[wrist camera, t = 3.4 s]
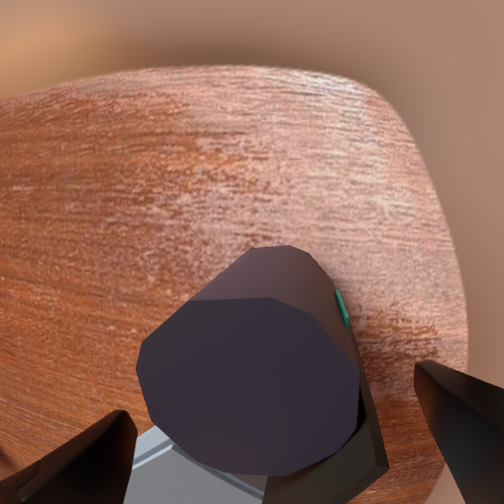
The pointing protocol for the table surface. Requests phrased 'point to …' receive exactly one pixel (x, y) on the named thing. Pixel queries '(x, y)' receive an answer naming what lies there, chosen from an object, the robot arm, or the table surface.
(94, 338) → the table surface
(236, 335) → the speaker
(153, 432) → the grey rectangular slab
